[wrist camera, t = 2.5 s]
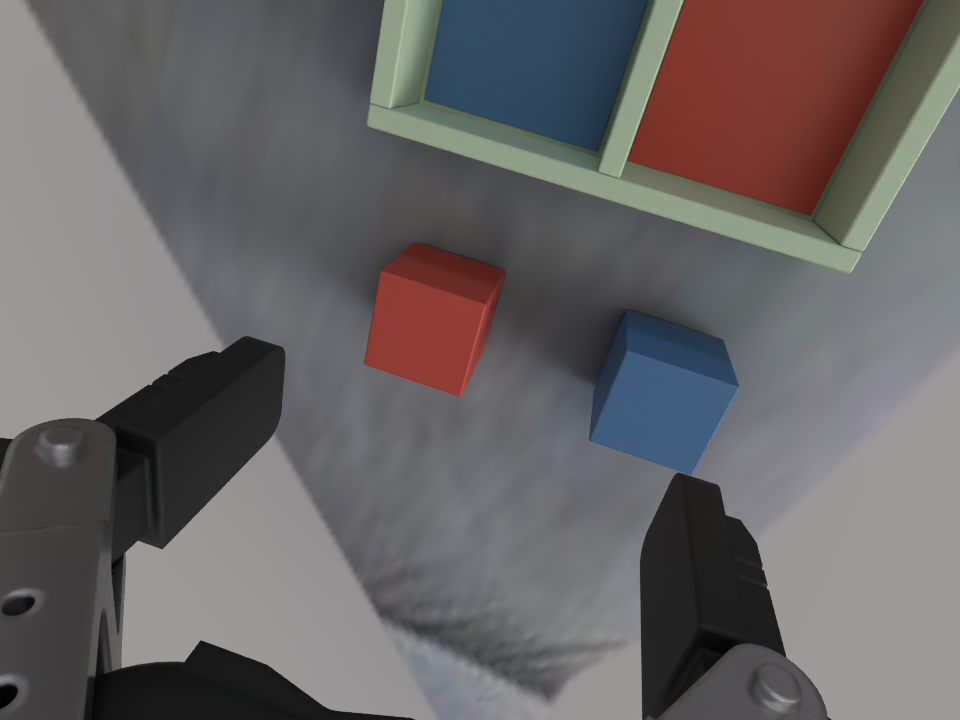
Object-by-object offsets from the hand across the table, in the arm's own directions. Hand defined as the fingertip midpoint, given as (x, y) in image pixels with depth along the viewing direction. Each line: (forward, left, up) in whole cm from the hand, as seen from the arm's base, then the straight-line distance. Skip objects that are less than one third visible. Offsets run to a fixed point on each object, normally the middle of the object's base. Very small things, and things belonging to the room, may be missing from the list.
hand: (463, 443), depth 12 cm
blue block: (+6, -4, -16) cm, 18 cm away
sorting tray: (+1, +9, -16) cm, 18 cm away
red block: (-4, -4, -16) cm, 17 cm away
